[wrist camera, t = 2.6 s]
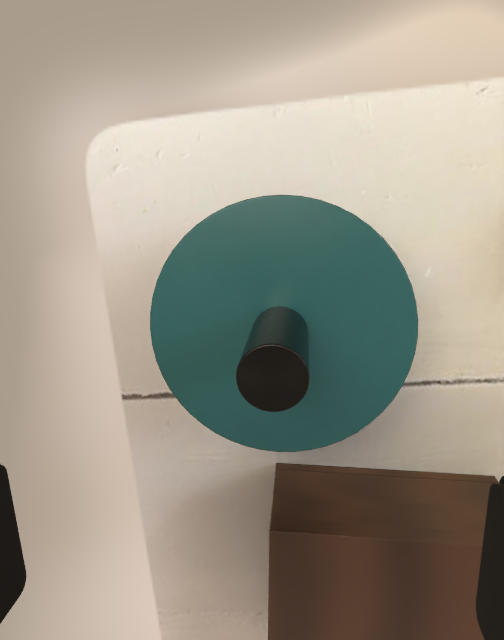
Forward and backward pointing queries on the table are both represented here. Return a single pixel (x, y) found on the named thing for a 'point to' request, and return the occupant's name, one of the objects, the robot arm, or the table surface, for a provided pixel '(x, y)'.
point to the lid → (284, 323)
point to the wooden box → (375, 554)
